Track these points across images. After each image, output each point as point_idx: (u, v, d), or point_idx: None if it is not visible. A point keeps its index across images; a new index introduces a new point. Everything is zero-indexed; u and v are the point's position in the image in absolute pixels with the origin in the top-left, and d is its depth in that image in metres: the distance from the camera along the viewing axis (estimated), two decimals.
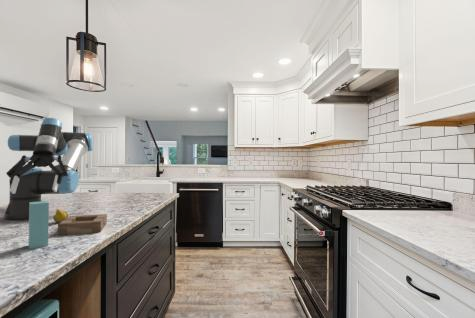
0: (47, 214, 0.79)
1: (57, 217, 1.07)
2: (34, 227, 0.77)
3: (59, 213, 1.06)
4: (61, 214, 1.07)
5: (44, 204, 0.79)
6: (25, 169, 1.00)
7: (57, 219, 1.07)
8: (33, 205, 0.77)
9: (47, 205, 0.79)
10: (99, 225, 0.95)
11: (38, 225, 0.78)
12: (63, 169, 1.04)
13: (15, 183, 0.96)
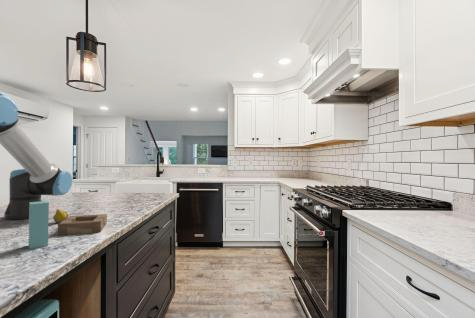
0: (47, 214, 0.79)
1: (57, 217, 1.07)
2: (34, 227, 0.77)
3: (59, 213, 1.06)
4: (61, 214, 1.07)
5: (44, 204, 0.79)
6: None
7: (57, 219, 1.07)
8: (33, 205, 0.77)
9: (47, 205, 0.79)
10: (99, 225, 0.95)
11: (38, 225, 0.78)
12: None
13: None
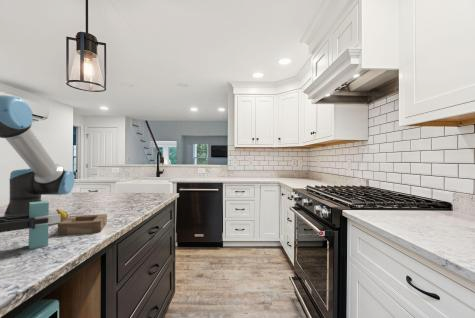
0: (47, 214, 0.79)
1: None
2: None
3: (59, 213, 1.06)
4: (61, 214, 1.07)
5: (44, 204, 0.79)
6: None
7: None
8: (33, 205, 0.77)
9: (47, 205, 0.79)
10: (99, 225, 0.95)
11: None
12: None
13: None
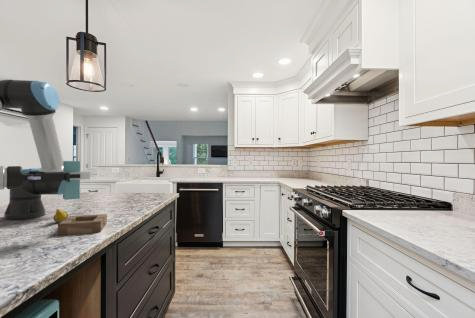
0: (79, 171, 0.92)
1: (57, 217, 1.07)
2: None
3: (59, 213, 1.06)
4: (61, 214, 1.07)
5: (76, 162, 0.91)
6: None
7: (57, 219, 1.07)
8: (67, 162, 0.89)
9: (79, 163, 0.92)
10: (99, 225, 0.95)
11: None
12: None
13: None
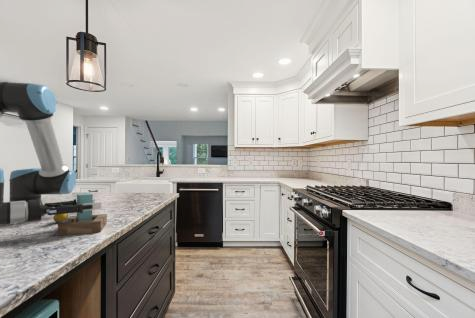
0: None
1: (57, 217, 1.07)
2: (82, 213, 0.97)
3: None
4: (61, 214, 1.07)
5: (89, 195, 0.99)
6: None
7: (57, 219, 1.07)
8: (81, 196, 0.97)
9: (91, 196, 0.99)
10: (99, 225, 0.95)
11: (85, 212, 0.98)
12: None
13: None
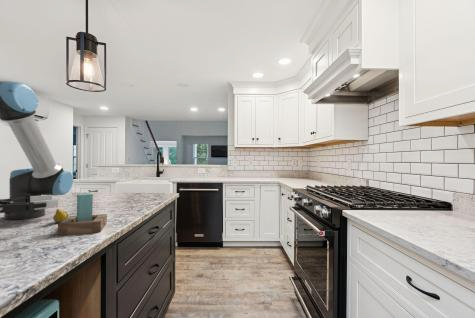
0: (91, 203, 0.99)
1: (57, 217, 1.07)
2: (82, 213, 0.97)
3: (59, 213, 1.06)
4: (61, 214, 1.07)
5: (89, 195, 0.99)
6: (18, 203, 0.89)
7: (57, 219, 1.07)
8: (81, 196, 0.97)
9: (91, 196, 0.99)
10: (99, 225, 0.95)
11: (85, 212, 0.98)
12: None
13: (40, 200, 0.95)
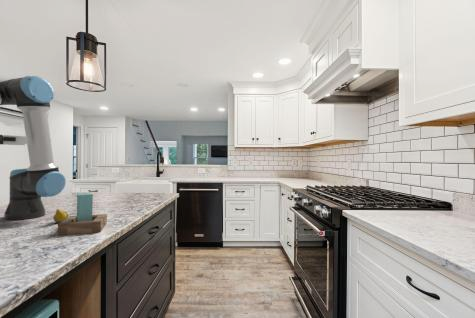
0: (91, 203, 0.99)
1: (57, 217, 1.07)
2: (82, 213, 0.97)
3: (59, 213, 1.06)
4: (61, 214, 1.07)
5: (89, 195, 0.99)
6: None
7: (57, 219, 1.07)
8: (81, 196, 0.97)
9: (91, 196, 0.99)
10: (99, 225, 0.95)
11: (85, 212, 0.98)
12: None
13: (13, 142, 0.98)
